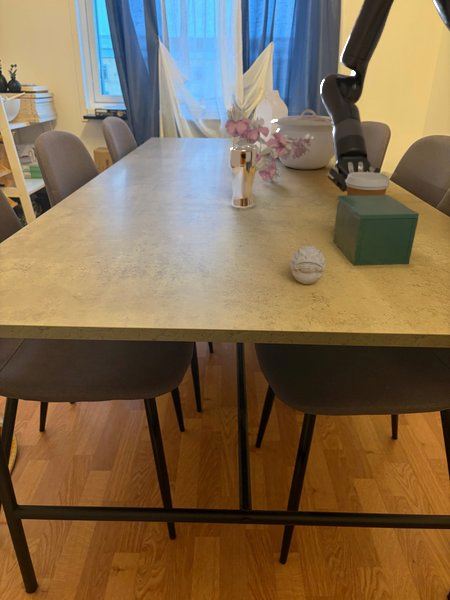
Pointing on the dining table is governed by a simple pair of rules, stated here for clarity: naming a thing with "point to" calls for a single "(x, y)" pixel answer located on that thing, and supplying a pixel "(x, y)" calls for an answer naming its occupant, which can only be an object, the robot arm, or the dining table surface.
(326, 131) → the chamber pot
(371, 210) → the bread bin lid
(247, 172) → the beer glass
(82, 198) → the dining table surface
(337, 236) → the green box
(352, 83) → the robot arm
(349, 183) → the disposable coffee cup
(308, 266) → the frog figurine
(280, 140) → the flower
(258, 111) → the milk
